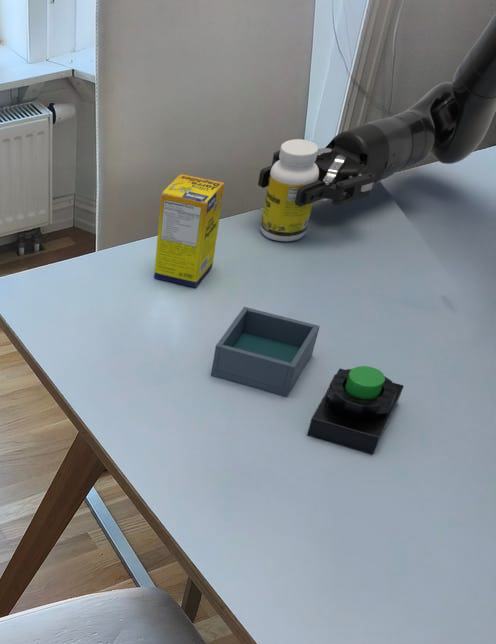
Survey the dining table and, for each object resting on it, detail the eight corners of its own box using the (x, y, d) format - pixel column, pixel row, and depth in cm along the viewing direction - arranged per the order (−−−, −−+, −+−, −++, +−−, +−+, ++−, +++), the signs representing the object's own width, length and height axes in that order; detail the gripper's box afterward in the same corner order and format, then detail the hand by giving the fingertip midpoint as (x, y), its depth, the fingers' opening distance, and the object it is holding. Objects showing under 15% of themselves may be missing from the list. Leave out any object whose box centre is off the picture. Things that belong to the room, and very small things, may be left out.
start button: (384, 385, 92) (389, 371, 91) (374, 404, 90) (379, 390, 89) (350, 376, 94) (354, 362, 92) (340, 394, 92) (344, 380, 90)
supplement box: (212, 267, 115) (226, 181, 107) (195, 289, 112) (207, 202, 104) (170, 257, 117) (180, 172, 109) (152, 278, 114) (161, 192, 105)
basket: (312, 355, 102) (320, 325, 99) (287, 396, 98) (294, 367, 95) (238, 335, 105) (243, 306, 102) (210, 375, 100) (215, 345, 98)
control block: (397, 402, 96) (409, 370, 93) (373, 454, 91) (384, 423, 88) (334, 384, 99) (343, 353, 96) (306, 435, 93) (315, 403, 90)
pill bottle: (254, 223, 123) (269, 138, 114) (298, 219, 123) (316, 134, 114) (265, 244, 119) (282, 158, 110) (311, 241, 119) (330, 155, 110)
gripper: (335, 107, 121) (245, 139, 116) (419, 142, 114) (327, 178, 108) (322, 164, 127) (236, 197, 121) (401, 201, 119) (313, 238, 114)
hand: (279, 188), depth 115 cm, fingers closed on pill bottle, 6 cm apart
